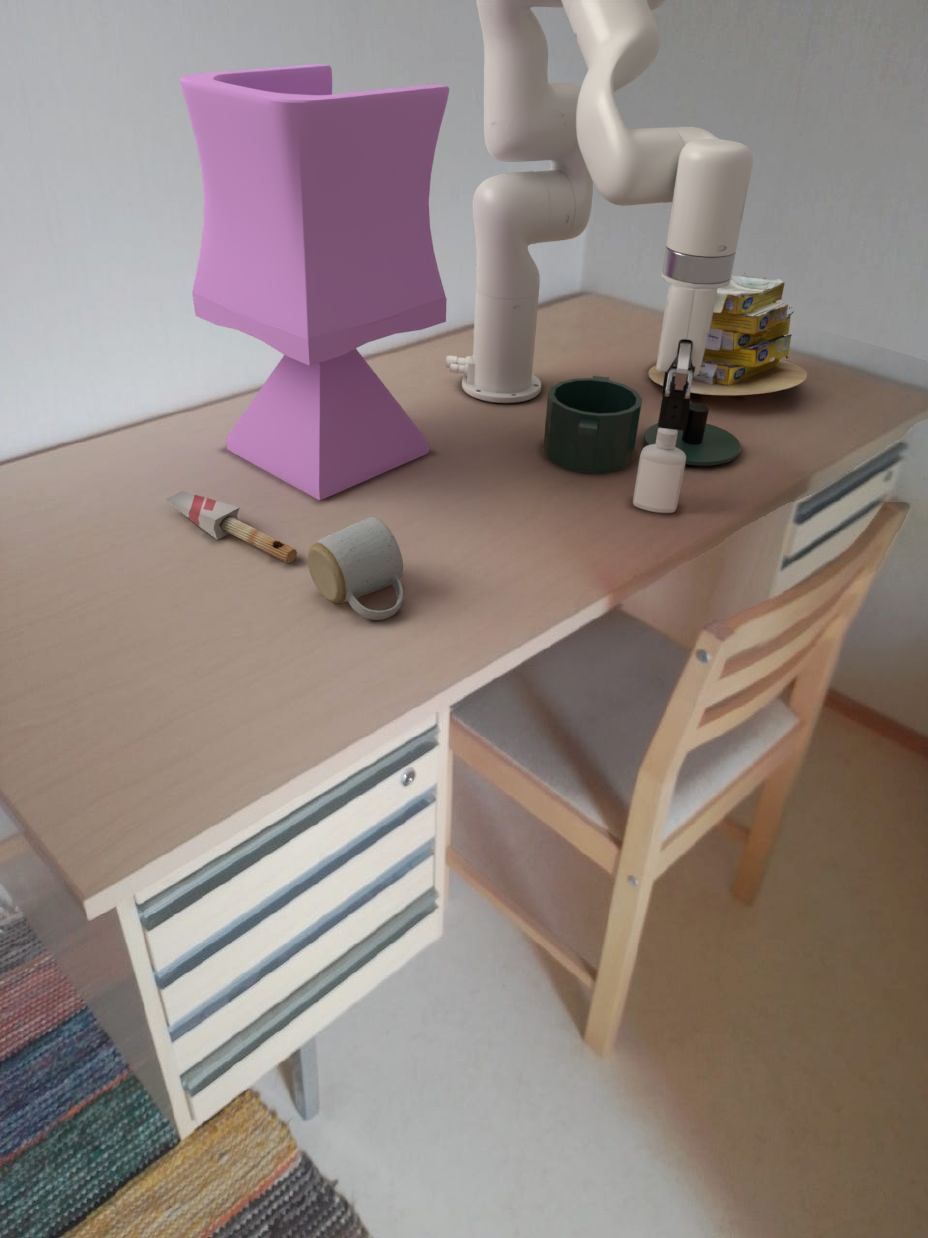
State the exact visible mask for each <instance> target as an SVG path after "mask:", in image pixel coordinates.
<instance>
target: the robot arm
mask: <svg viewBox="0 0 928 1238" xmlns="http://www.w3.org/2000/svg"><path fill="white" fill-rule="evenodd" d="M666 1H667V0H475V2H476V8H477V13H478V18H479V23H480V28H481V35H482V41H483V56H484V57H483V135H484V136H483V137H484V143H485V147H486V150H487V153H488V154H489V155H490V157H491V158H493V159H495V160H496V161H499V162H505V163H524V162H525V163H526V162H541V161H543V162H544V161H549V170H537V171H533V170H532V171H531V170H529V171H517V172H516V171H515V172H505V173H499V174H496V175H492V176H489V177H487V178H485V180H483V181H482V182H481V183H480V184H479V185H478V186H477V188H476V190H475V191H474V194H473V196H472V206H471V207H472V211H471V212H472V221H473V227H474V229H473V230H474V237H475V251H476V254H475V255H476V270H475V271H476V273H475V274H476V275H475V276H476V277H475V297H474V299H475V301H474V305H475V306H474V322H473V323H474V324H473V344H472V345H473V346H472V355H466V357H461V356H459V355H450V354H447V356H446V359H445V368H448V369H449V373H451V374H452V373H453V374H463V376H462V379H461V389H462V390H463V391H464V392H465V393H466V394H467V395H469V396H470V397H473V398H475V399H478V400H480V401H485V402H489V403H496V404H515V403H516V404H517V403H522V402H526V401H529V400H532V399H534V398H536V397H537V396H538V395H539V394H540V393H541V391H542V381H541V380H540V379H539V377H538V376H536V374H534V373H533V369H534V358H535V357H534V356H535V345H536V344H535V343H536V332H537V322H538V320H537V319H538V309H539V297H540V286H541V283H540V282H541V278H540V277H541V276H540V271H539V268H538V266H537V264H536V262H535V260H534V259H533V257H532V255H531V254H530V251H529V248H528V247H529V246H531V245H537V244H542V243H551V242H552V243H553V242H561V241H567V240H572V239H575V238H577V237H579V236H580V235H581V234H582V233H584V231H585V230H586V228H587V226H588V224H589V221H590V218H591V212H592V206H593V193H594V186H595V188H596V190H597V191H598V193H599V194H600V196H601V197H603V198H604V200H605V201H607V202H609V203H610V204H613V205H615V206H621V207H624V206H639V205H650V204H651V205H652V204H661V203H662V204H666V203H671V211H670V216H669V222H668V228H667V237H666V242H665V243H666V244H665V248H664V249H665V250H664V256H663V264H662V270H661V276H660V277H661V279H663V281H664V282H666V283H669V285H668V289H667V294H666V299H665V304H664V310H663V317H662V323H661V330H660V337H659V343H658V351H657V356H656V357H657V359H656V364H655V365H656V370H657V371H658V373H661V371H663V372H665V376H664V382H663V386H662V389H661V395H662V396H661V397H662V398H661V401H660V402H661V403H660V409H659V415H658V420H657V421H658V422H657V423H658V427H660V428H665V429H674V430H685V429H686V424H687V419H688V413H689V408H690V404H691V403H692V396H691V392H690V391H691V384H692V377H695V376H696V375H698V374H699V371H700V367H701V363H702V360H703V356H704V352H705V348H706V344H707V339H708V335H709V330H710V326H711V321H712V316H713V311H714V305H715V300H716V295H717V289H718V288H722V287H725V286H727V285H729V284H730V280H731V276H732V275H733V268H734V263H735V258H736V254H737V253H736V252H737V248H738V242H739V237H740V233H741V227H742V221H743V216H744V210H745V206H746V201H747V195H748V189H749V186H750V185H749V184H750V179H751V174H752V170H753V161H754V156H753V152H752V150H751V148H749V146H748V145H746V144H744V143H742V142H738V141H735V140H728V139H722V138H719V137H717V136H716V135H714V134H713V133H712V132H710V131H709V130H706V129H704V128H702V127H697V126H671V127H670V126H664V127H644V128H643V127H642V128H640V127H639V128H628V126H627V125H626V123H625V121H624V118H623V116H622V113H621V112H620V109H619V106H618V103H617V100H616V97H615V92H617V91H618V90H620V89H622V88H624V87H625V86H627V85H629V84H630V83H632V82H633V81H635V80H636V79H638V78H639V77H640V76H641V75H642V74H644V72H645V71H646V70H648V68H649V67H650V66H651V64H652V63H654V61H655V59H656V57H657V55H658V53H659V50H660V47H661V33H660V29H659V27H658V25H657V22H656V20H655V18H654V15H653V13H652V11H654V10H657V9H658V8H660V6H662V5H663V4H664V3H665V2H666ZM531 8H563V9H564V12H565V14H566V17H567V19H568V22H569V25H570V27H571V29H572V32H573V35H574V37H575V40H576V42H577V45H578V47H579V50H580V53H581V55H582V57H583V60H584V63H585V65H586V68H587V72H586V75H585V77H584V78H583V80H582V84H581V86H580V85H578V84H575V83H571V82H551V83H550V82H549V79H548V77H549V76H548V66H549V44H548V40H547V37H546V34H545V32H544V29H543V27H542V25H541V23H540V21H539V19H538V18H537V15H536V14H535V13H534V11H533V10H532V9H531ZM690 365H691V366H690Z"/></svg>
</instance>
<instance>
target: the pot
mask: <svg viewBox="0 0 928 1238" xmlns="http://www.w3.org/2000/svg"><path fill="white" fill-rule="evenodd" d="M642 404H643V397H642V396H641V395H640V394H639V392H638V390H636V389H634V388H632V387H630V386H628V385H626V384H624V383H621V382H617V381H613V380H610V377H607V376H599V375H592V377H581V378H571V379H566V380H561V381H559V382H557V383H556V384H553V385H552V386H551V387H550V388H549V391H548V393H547V402H546V413H545V414H546V415H545V423H544V435H543V443H542V444H543V446H542V448H543V454H544V456H545V457H546V458H547V459H548V460H549V461H550V462H551V463H552V464H554V465H556V466H558V467H560V468H562V469H565V470H569V471H572V472H577V473H581V474H595V475H596V474H597V475H598V474H600V475H601V474H608V473H609V474H610V473H615V472H618V471H621V470H624V469H625V468H627V467H628V466H630V465H631V463H632V462H633V459H634V455H635V454H634V453H635V448H636V441H637V435H638V428H639V422H640V416H641V410H642Z"/></svg>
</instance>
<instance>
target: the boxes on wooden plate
mask: <svg viewBox="0 0 928 1238" xmlns="http://www.w3.org/2000/svg"><path fill="white" fill-rule="evenodd" d="M785 283H786V281H784V280H782V279H780V278H777V279H770V278H767V277H757V276H749V275H746V273H745V272H744V273H743V274H742V275H740V274H736V275H731V280H730V284H729V285H727V286H725V287H722V288H718V289H717V295H716V300H715V305H714V311H713V316H712V321H711V326H710V330H709V335H708V339H707V344H706V348H705V352H704V356H703V360H702V363H701V367H700V371H699V374H698V375H696V376H695V377H692V384H691V391H690V394H699V395H708V396H709V395H711V396H736V397H737V398H740V396H746V395H747V396H748V395H760V394H767V393H768V394H769V393H774V392H780V391H782V390H788V389H790V388H794V387H796V386H798V385H800V384H802V383H803V382H805V380H806V379H807V377H808V373H807V371H806V370H805V369H804V368H802V367H801V366H800V365H797V364H796V363H793V362H791V361H787V360H788V358H789V353H790V347H791V340H792V334H790V325H791V316H792V315H793V313H794V312H795V310H793V311H792V312H791V313H788V309H789V310H790V309H793V307H792V306H789V304H787V303H785V302H784V301H782V299H783V295H784V294H783V293H784V287H785ZM783 357H785V359H786V360H784V359H781V358H783ZM656 365H657V364H655V365H653V366H652V367H651V368H650V369H649V370H648V377H649V379H650V380H652V382H654V383H656V384H657V385H660V386H662V387H663V382H664V376H665V372H663V371H661V373H658V371H657V370H656ZM690 366H691V365H690Z"/></svg>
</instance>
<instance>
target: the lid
mask: <svg viewBox="0 0 928 1238" xmlns="http://www.w3.org/2000/svg"><path fill="white" fill-rule="evenodd" d="M709 412H710V407H709V406H708V405H706V404H705V403H704V404H703V403H701V402H690V408H689V413H688V419H687V424H686V429H685V430H677V431H678V434H677V439H676V445H675V447H676V448H678V449H680V450H682V451H683V452H684V453H685V455H686V462H685V465H691V466H703V467H705V466H716V465H717V466H718V465H722V464H726V463H729V462H731V461H733V460H734V459H736V458H737V457H738V456H739V454H740V453H741V452H740V451H741V443H740V441H739V439H737V437H736V436H735V435H734V434H733V433H731V432H729V431H728V430H726V429H724V428H722V427H720V426H717V425H714V424H710V423H707V422H708V417H709ZM659 428H660V427H658V422H657V423H653V424H652V425H650V426H648V428H646V429H645V431H644V434H643V442H644V444H645V446H648V445H652V444H656V438H657V432H658V429H659Z"/></svg>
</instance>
